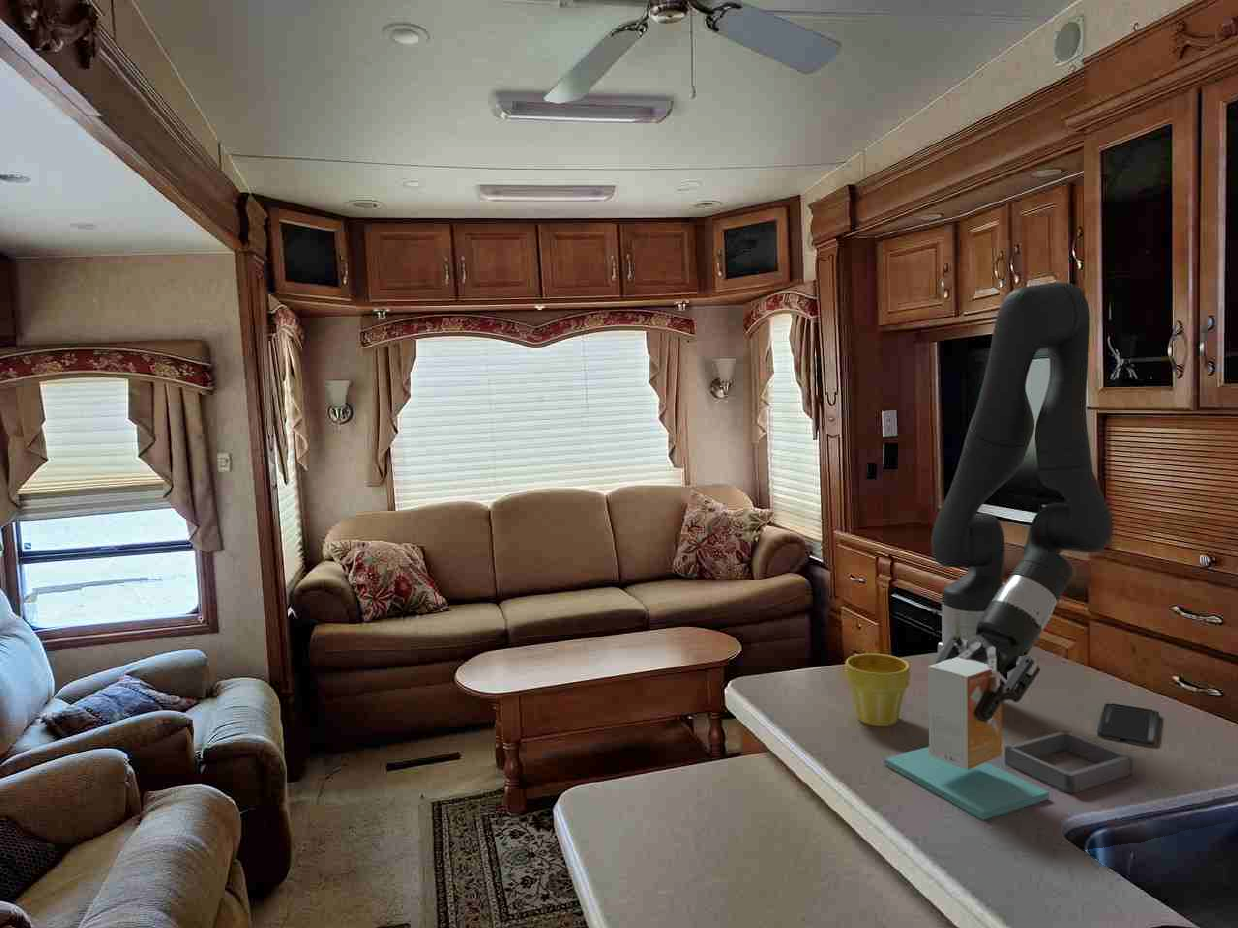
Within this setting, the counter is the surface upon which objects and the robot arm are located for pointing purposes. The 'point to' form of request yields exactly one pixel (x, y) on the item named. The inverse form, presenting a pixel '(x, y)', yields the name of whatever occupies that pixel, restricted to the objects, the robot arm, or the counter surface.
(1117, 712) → the phone
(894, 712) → the plant pot
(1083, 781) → the tray frame
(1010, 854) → the counter surface
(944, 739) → the small box
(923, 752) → the board
